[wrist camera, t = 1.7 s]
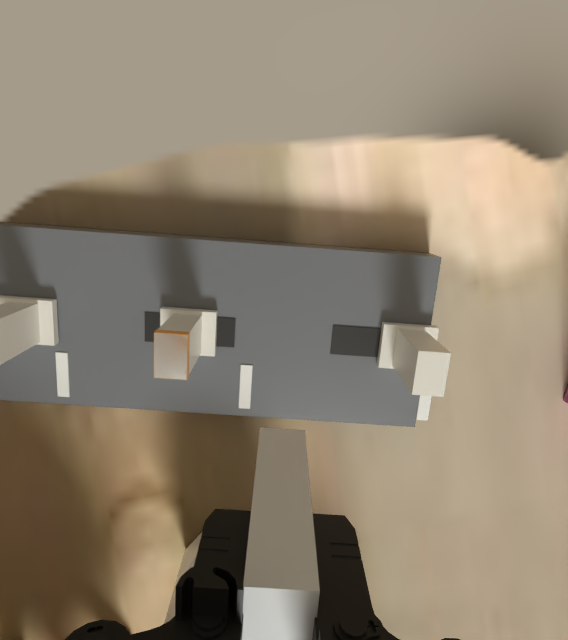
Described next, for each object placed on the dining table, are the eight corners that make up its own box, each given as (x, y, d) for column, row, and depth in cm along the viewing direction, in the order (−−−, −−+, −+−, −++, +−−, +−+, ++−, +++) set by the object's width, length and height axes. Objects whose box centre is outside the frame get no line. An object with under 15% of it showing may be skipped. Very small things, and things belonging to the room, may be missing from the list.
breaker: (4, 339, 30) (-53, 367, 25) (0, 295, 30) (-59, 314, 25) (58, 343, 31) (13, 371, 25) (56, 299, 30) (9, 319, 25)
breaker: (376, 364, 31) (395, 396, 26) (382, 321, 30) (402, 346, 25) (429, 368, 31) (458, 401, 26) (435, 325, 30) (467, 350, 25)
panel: (-21, 383, 34) (-45, 397, 32) (-37, 219, 31) (-64, 220, 29) (415, 412, 35) (426, 428, 32) (440, 254, 32) (454, 258, 29)
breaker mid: (162, 350, 31) (137, 379, 26) (162, 306, 30) (137, 328, 25) (215, 353, 31) (202, 384, 26) (217, 310, 30) (204, 332, 25)
